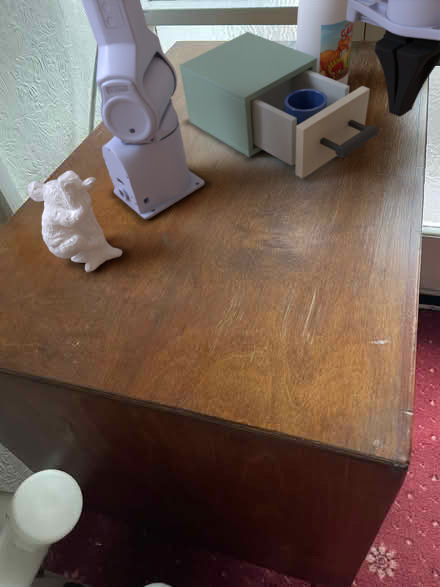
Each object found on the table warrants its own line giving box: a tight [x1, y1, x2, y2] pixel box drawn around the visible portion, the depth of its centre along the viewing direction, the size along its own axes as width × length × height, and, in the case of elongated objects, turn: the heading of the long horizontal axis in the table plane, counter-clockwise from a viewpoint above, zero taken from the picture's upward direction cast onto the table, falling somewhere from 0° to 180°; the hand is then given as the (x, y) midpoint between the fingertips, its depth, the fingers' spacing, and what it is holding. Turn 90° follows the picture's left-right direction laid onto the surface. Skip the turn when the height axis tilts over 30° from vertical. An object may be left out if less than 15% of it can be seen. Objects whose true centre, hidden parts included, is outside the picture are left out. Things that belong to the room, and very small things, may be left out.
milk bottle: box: [296, 0, 354, 85], centre depth 64 cm, size 8×8×20 cm
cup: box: [284, 89, 328, 125], centre depth 59 cm, size 5×5×5 cm
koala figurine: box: [27, 170, 123, 273], centre depth 49 cm, size 8×7×12 cm
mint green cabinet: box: [178, 31, 317, 158], centre depth 65 cm, size 14×13×9 cm
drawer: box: [250, 69, 379, 179], centre depth 59 cm, size 16×11×7 cm
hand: (400, 110), depth 47 cm, fingers closed
